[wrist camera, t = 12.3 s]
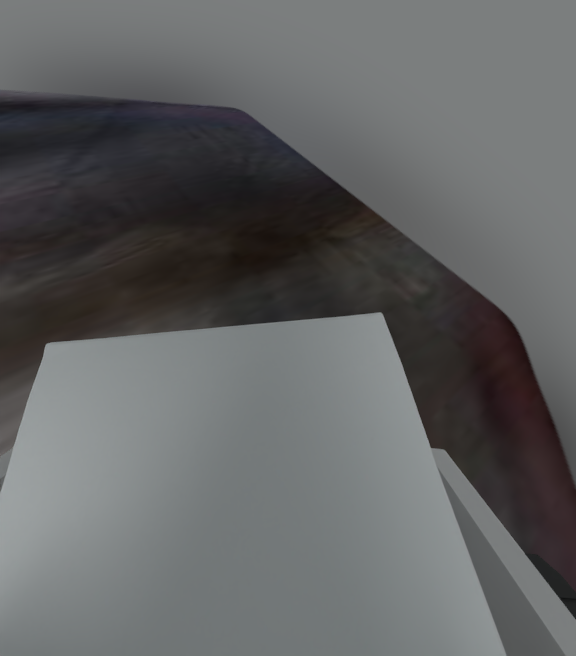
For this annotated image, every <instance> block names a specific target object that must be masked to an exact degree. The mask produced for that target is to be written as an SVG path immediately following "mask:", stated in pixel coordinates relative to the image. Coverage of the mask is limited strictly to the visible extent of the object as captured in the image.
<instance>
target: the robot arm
mask: <svg viewBox="0 0 576 656" xmlns="http://www.w3.org/2000/svg"><path fill="white" fill-rule="evenodd" d="M12 451H13V448H12V449H11V450H9V451H8V452H6V453H5V454H3V455H2V456H0V492H1V489H2V486H3V483H4V479H5V476H6V472H7V469H8V466H9V462H10V458H11V455H12ZM431 451H432V454H433V457H434V459H435V462H436V465H437V468H438V471H439V474H440V476H441V479H442V482H443V485H444V487H445V490H446V493H447V495H448V498H449V501H450V503H451V506H452V509H453V512H454V514H455V517H456V520H457V522H458V525H459V528H460V531H461V533H462V536H463V539H464V541H465V544H466V547H467V550H468V552H469V555H470V558H471V560H472V563H473V566H474V568H475V571H476V574H477V577H478V579H479V582H480V585H481V587H482V590H483V593H484V596H485V598H486V601H487V604H488V606H489V609H490V612H491V614H492V617H493V620H494V623H495V625H496V628H497V631H498V633H499V636H500V639H501V641H502V644H503V647H504V650H505V652H506V655H507V656H576V593H575V591H574V590H573V589H572V588H571V587H570V585H569V584H568V583H567V582H566V581H565V579H564V578H563V577H562V576H561V575H560V574H559V573H558V572H557V571H556V570H554V569H553V568H552V567H551V566H550V565H549V564H547V563H546V562H545V561H544V560H543V559H542V558H540V557H539V556H538V555H536V554H526V553H524V552H523V551H522V549H521V548H520V547H519V546H518V544H517V543H516V542H515V540H514V539H513V538H512V537H511V535H510V534H509V533H508V531H507V530H506V529H505V528H504V526H503V525H502V524H501V522H500V521H499V520H498V518H497V517H496V516H495V515H494V513H493V512H492V511H491V509H490V508H489V507H488V506H487V504H486V503H485V502H484V500H483V499H482V498H481V497H480V495H479V494H478V493H477V491H476V490H475V489H474V487H473V486H472V485H471V484H470V482H469V481H468V480H467V478H466V477H465V476H464V475H463V473H462V472H461V471H460V469H459V468H458V467H457V466H456V464H455V463H454V462H453V460H452V459H451V458H450V456H449V455H448V454H447V453H446V451H445V450H443V449H433V448H431Z"/></svg>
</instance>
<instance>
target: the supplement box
mask: <svg viewBox="0 0 576 656" xmlns="http://www.w3.org/2000/svg"><path fill="white" fill-rule="evenodd" d="M0 656H507V655H506V652H505V650H504V647H503V644H502V641H501V639H500V636H499V633H498V631H497V628H496V625H495V623H494V620H493V617H492V614H491V612H490V609H489V606H488V604H487V601H486V598H485V596H484V593H483V590H482V587H481V585H480V582H479V579H478V577H477V574H476V571H475V568H474V566H473V563H472V560H471V558H470V555H469V552H468V550H467V547H466V544H465V541H464V539H463V536H462V533H461V531H460V528H459V525H458V522H457V520H456V517H455V514H454V512H453V509H452V506H451V503H450V501H449V498H448V495H447V493H446V490H445V487H444V485H443V482H442V479H441V476H440V474H439V471H438V468H437V465H436V462H435V459H434V457H433V454H432V451H431V448H430V445H429V442H428V439H427V436H426V433H425V430H424V427H423V425H422V422H421V419H420V416H419V413H418V410H417V407H416V404H415V401H414V399H413V396H412V393H411V390H410V387H409V384H408V381H407V378H406V375H405V372H404V369H403V366H402V363H401V361H400V358H399V356H398V353H397V350H396V348H395V345H394V343H393V340H392V337H391V335H390V332H389V330H388V327H387V324H386V322H385V319H384V316H383V314H382V313H381V312H379V313H370V314H361V315H352V316H342V317H330V318H319V319H308V320H296V321H285V322H274V323H263V324H251V325H240V326H229V327H218V328H207V329H196V330H185V331H174V332H163V333H153V334H142V335H132V336H122V337H111V338H101V339H91V340H78V341H65V342H52V343H48V344H46V346H45V350H44V355H43V359H42V362H41V365H40V367H39V370H38V373H37V376H36V379H35V381H34V384H33V387H32V390H31V393H30V396H29V399H28V401H27V405H26V409H25V412H24V415H23V419H22V422H21V424H20V427H19V430H18V435H17V438H16V441H15V444H14V447H13V451H12V455H11V458H10V462H9V466H8V469H7V472H6V476H5V479H4V483H3V486H2V489H1V492H0Z"/></svg>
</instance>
